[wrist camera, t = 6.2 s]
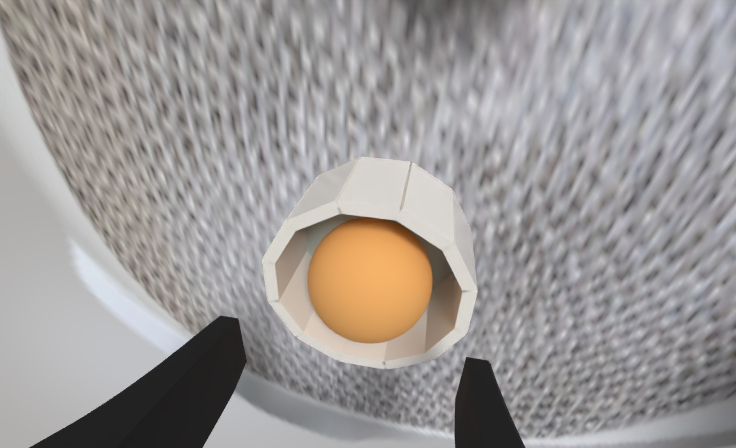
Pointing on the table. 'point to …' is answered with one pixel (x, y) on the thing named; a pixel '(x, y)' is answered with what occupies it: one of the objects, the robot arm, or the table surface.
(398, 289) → the ball
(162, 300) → the table surface
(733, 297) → the table surface
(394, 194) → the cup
